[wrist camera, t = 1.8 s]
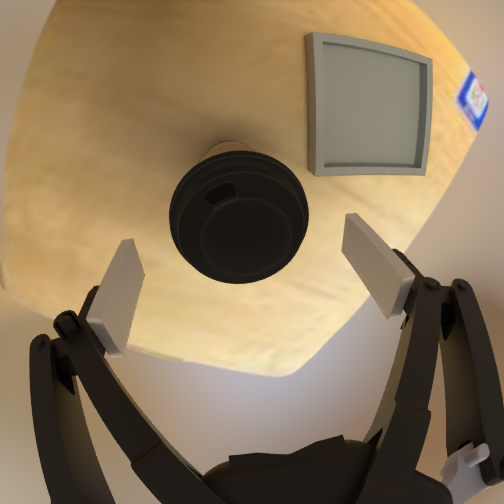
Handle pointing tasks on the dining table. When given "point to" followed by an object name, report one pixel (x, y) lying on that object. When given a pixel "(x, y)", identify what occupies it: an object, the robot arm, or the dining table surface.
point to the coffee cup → (238, 215)
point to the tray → (367, 107)
